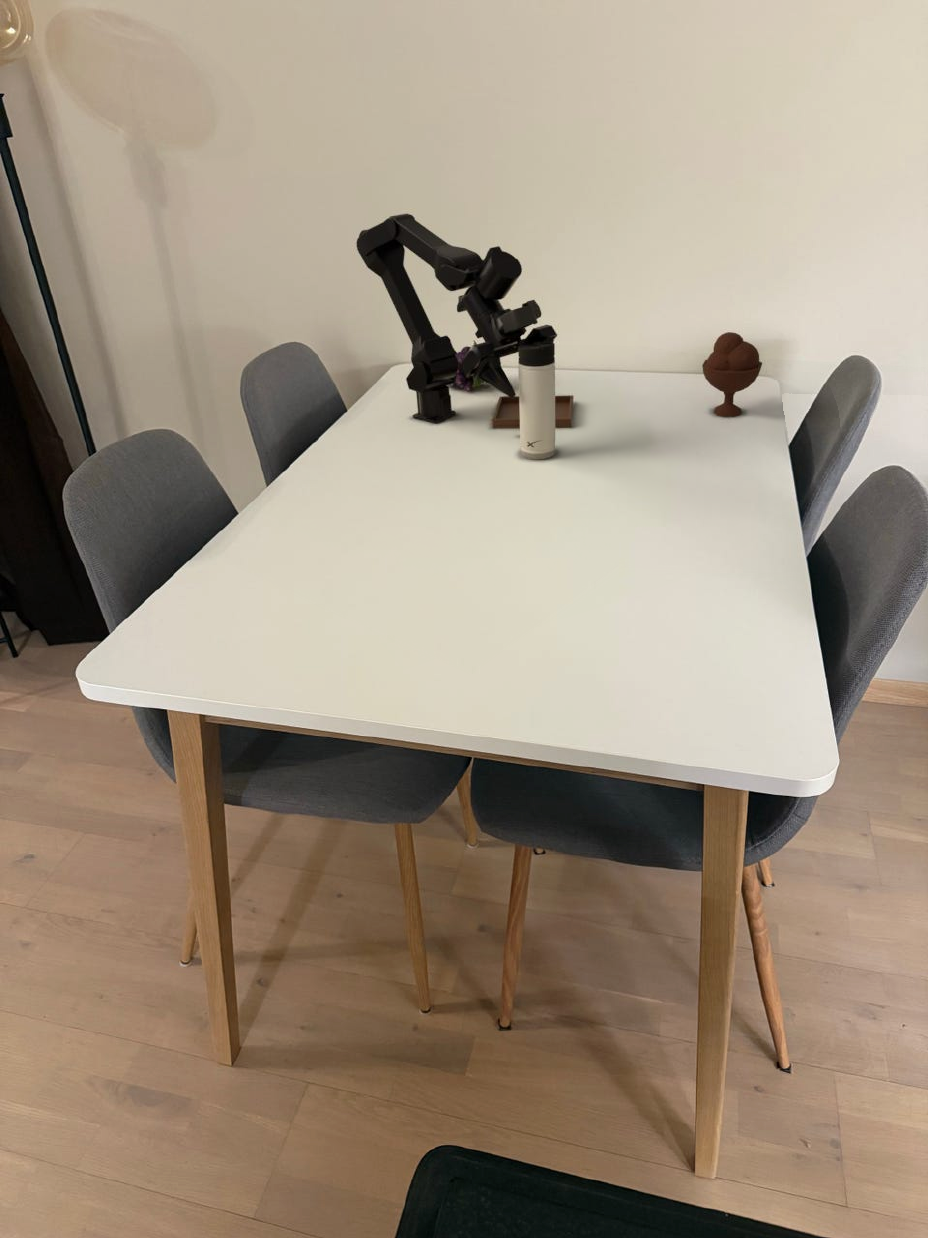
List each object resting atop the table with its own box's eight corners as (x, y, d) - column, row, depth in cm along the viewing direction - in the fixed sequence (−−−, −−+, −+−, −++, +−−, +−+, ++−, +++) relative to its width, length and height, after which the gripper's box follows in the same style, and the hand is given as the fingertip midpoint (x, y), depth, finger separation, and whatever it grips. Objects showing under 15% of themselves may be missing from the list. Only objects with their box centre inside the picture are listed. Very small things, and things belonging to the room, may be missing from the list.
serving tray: (492, 428, 176) (492, 419, 175) (499, 404, 188) (499, 396, 187) (571, 427, 173) (571, 419, 173) (573, 403, 185) (573, 395, 184)
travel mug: (533, 463, 159) (531, 349, 149) (514, 451, 164) (511, 341, 154) (562, 455, 162) (563, 342, 151) (543, 444, 167) (542, 334, 156)
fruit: (448, 395, 204) (511, 379, 199) (435, 402, 195) (501, 385, 190) (435, 349, 201) (499, 332, 196) (422, 355, 191) (489, 336, 187)
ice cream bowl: (694, 419, 173) (701, 340, 165) (704, 401, 182) (711, 325, 174) (752, 423, 170) (761, 343, 162) (759, 404, 178) (768, 327, 170)
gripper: (467, 296, 148) (515, 376, 146) (549, 276, 157) (594, 351, 156) (441, 338, 157) (485, 413, 155) (519, 316, 167) (562, 387, 165)
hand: (533, 390), depth 158 cm, fingers open, 9 cm apart
